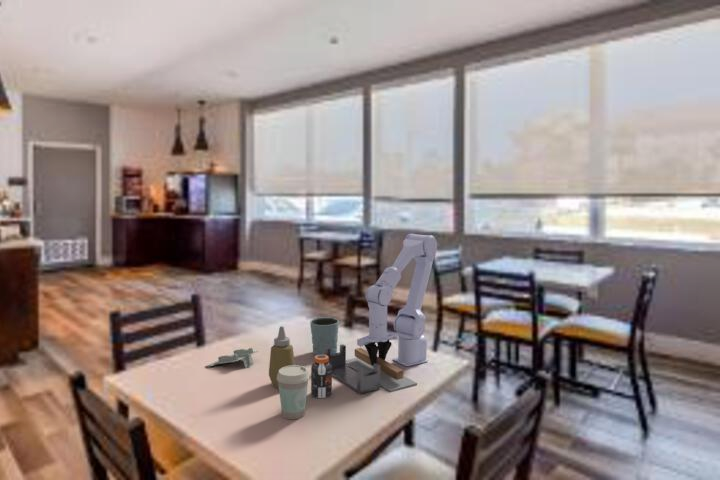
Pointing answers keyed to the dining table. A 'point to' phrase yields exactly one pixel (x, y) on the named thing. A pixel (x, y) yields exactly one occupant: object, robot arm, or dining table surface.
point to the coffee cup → (293, 390)
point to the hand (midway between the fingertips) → (377, 364)
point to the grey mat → (381, 376)
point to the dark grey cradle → (353, 373)
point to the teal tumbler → (324, 335)
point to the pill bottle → (321, 377)
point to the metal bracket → (236, 357)
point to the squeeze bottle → (280, 356)
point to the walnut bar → (384, 365)
